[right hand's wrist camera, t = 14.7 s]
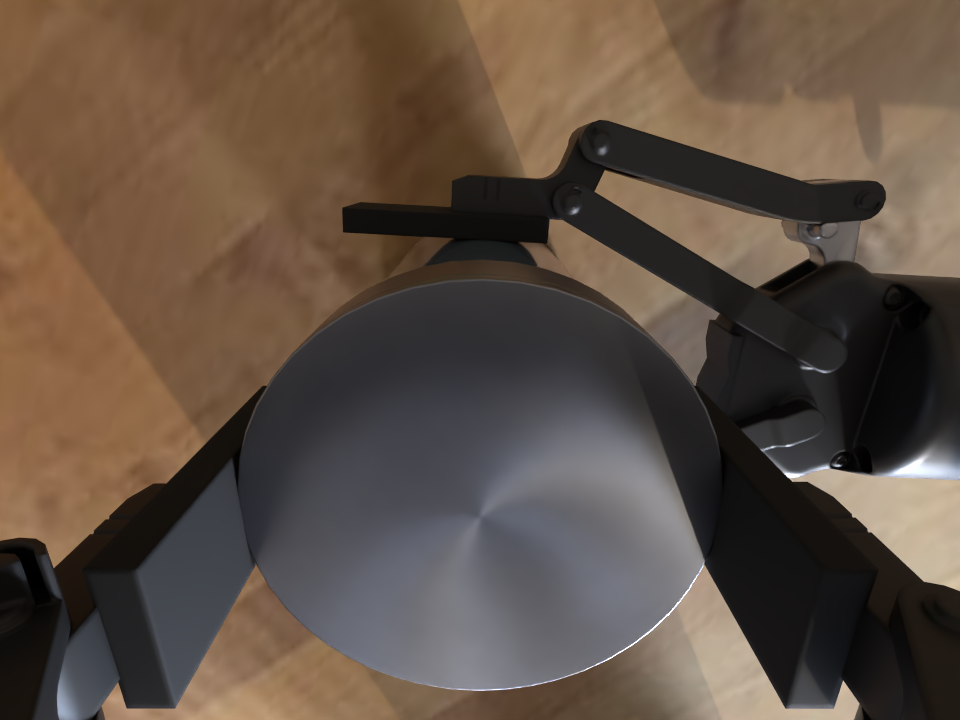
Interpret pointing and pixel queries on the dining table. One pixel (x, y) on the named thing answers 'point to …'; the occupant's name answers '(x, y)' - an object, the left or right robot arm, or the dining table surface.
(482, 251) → the jar
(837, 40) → the dining table surface
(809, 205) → the left robot arm
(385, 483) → the lid
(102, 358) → the dining table surface
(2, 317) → the dining table surface
